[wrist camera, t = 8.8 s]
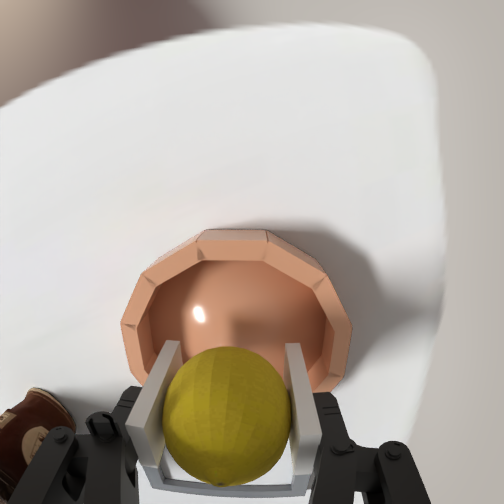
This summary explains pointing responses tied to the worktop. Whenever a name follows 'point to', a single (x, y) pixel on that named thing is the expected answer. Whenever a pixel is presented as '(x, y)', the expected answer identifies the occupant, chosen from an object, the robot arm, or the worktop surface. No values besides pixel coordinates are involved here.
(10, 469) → the coffee cup
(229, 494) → the gray rectangular frame
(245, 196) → the worktop surface
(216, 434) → the lemon
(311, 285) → the bowl
